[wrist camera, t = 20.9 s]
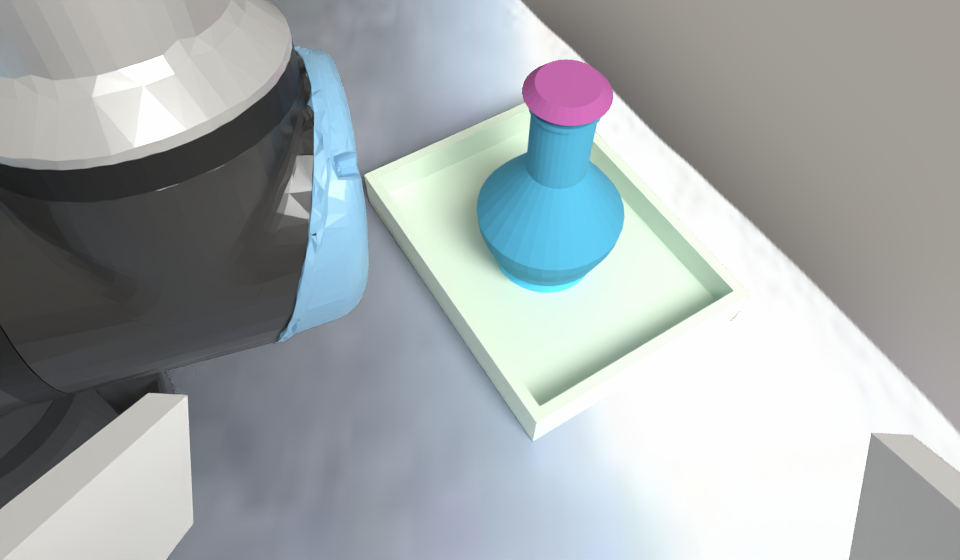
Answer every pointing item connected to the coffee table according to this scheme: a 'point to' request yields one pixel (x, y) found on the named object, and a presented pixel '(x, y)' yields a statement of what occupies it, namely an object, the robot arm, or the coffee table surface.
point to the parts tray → (559, 315)
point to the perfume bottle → (554, 185)
